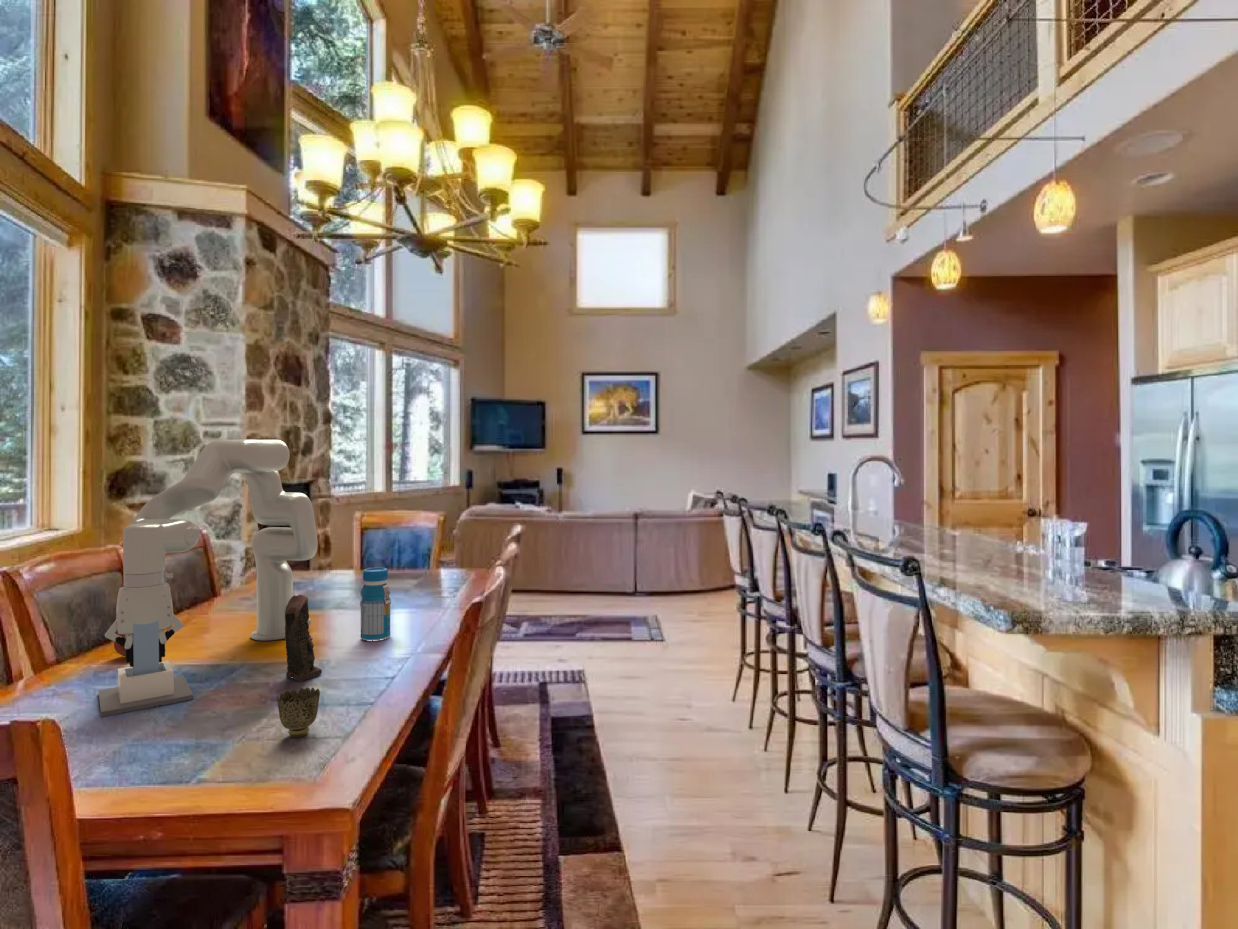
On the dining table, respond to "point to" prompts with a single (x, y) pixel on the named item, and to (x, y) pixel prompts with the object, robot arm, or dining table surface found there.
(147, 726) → the dining table surface
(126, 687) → the well
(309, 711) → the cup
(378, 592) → the beverage bottle
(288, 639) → the statue
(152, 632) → the post
